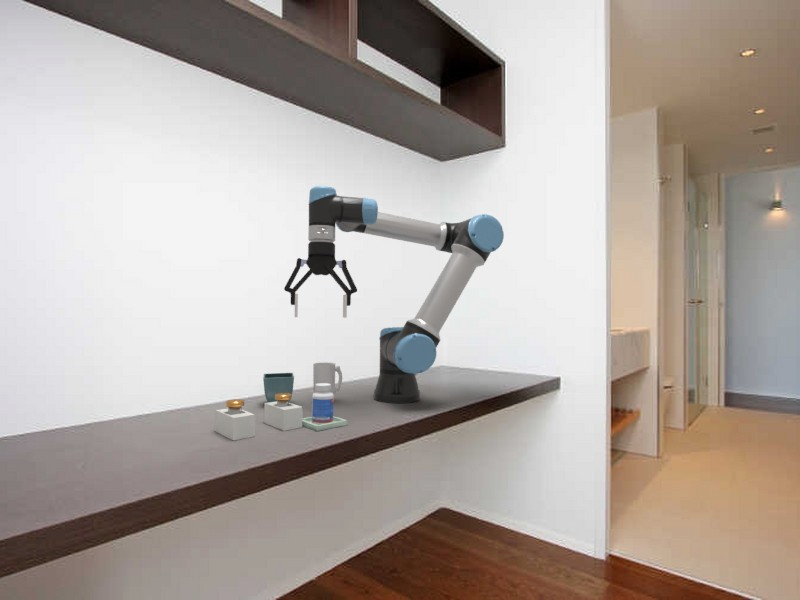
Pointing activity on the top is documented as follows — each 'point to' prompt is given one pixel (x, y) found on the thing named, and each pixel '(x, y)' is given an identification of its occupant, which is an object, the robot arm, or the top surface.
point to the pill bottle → (322, 404)
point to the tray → (336, 423)
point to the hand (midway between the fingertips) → (320, 317)
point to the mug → (326, 375)
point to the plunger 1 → (235, 406)
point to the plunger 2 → (283, 399)
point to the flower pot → (277, 385)
